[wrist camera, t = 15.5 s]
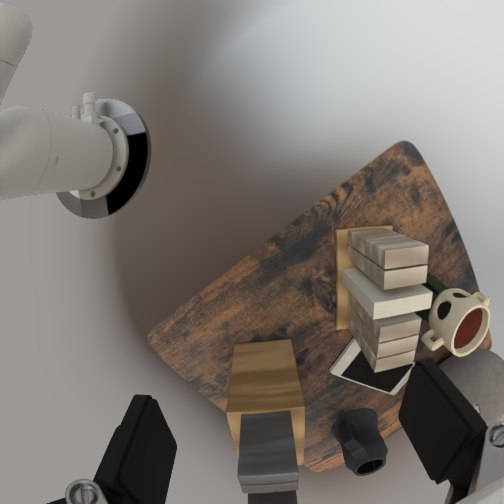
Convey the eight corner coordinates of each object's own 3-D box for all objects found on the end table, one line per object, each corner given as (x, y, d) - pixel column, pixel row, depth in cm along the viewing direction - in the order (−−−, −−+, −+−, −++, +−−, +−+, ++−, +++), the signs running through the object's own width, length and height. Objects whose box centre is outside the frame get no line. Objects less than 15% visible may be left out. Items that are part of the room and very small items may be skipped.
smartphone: (355, 334, 38) (357, 337, 37) (417, 362, 40) (419, 365, 39) (328, 369, 40) (329, 373, 39) (392, 392, 41) (394, 395, 40)
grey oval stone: (406, 405, 42) (444, 473, 24) (393, 390, 41) (435, 464, 23) (475, 344, 39) (530, 394, 21) (468, 323, 38) (531, 375, 20)
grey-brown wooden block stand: (334, 229, 35) (370, 250, 23) (389, 224, 34) (440, 243, 23) (335, 326, 38) (361, 377, 26) (385, 318, 38) (423, 362, 26)
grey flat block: (341, 269, 35) (374, 303, 24) (389, 263, 35) (432, 292, 24) (341, 282, 35) (373, 320, 25) (388, 275, 35) (430, 308, 24)
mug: (383, 420, 43) (402, 460, 32) (345, 443, 45) (357, 485, 34) (358, 393, 41) (378, 439, 30) (315, 420, 43) (325, 467, 32)
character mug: (442, 255, 35) (497, 283, 23) (451, 291, 37) (501, 325, 24) (387, 295, 37) (433, 338, 24) (401, 329, 38) (442, 376, 26)
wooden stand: (234, 343, 39) (218, 474, 17) (290, 338, 38) (317, 468, 17) (244, 402, 41) (238, 518, 20) (293, 398, 41) (310, 513, 20)
